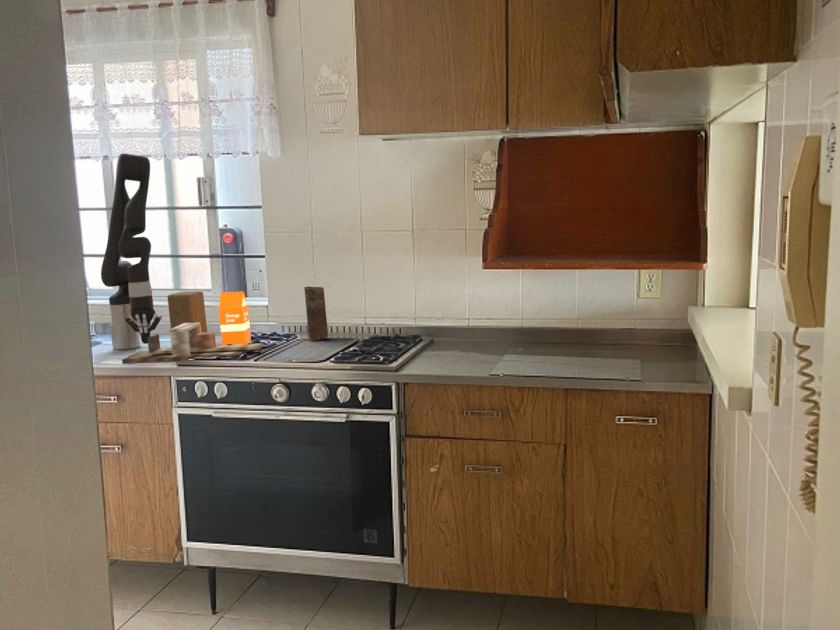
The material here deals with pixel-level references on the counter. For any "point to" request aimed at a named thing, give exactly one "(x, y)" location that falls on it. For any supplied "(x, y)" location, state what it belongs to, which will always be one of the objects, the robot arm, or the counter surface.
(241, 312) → the orange juice
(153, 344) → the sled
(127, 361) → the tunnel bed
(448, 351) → the counter surface
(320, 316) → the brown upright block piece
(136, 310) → the robot arm
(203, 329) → the wooden block
